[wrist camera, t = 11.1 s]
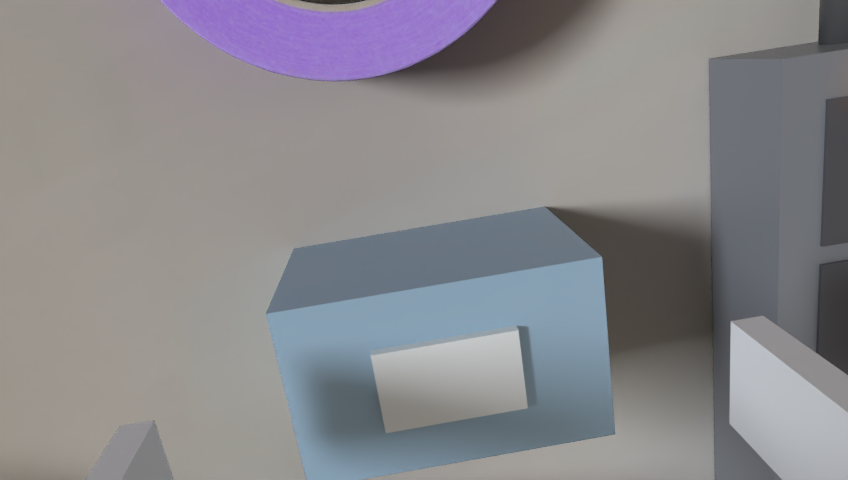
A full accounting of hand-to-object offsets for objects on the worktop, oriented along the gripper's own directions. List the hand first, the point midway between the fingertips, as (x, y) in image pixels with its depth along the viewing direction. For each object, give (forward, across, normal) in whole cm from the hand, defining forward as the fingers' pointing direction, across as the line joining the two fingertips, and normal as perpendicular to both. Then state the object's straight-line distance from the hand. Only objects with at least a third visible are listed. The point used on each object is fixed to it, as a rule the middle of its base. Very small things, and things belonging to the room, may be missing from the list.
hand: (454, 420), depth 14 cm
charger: (+9, 0, -1) cm, 9 cm away
